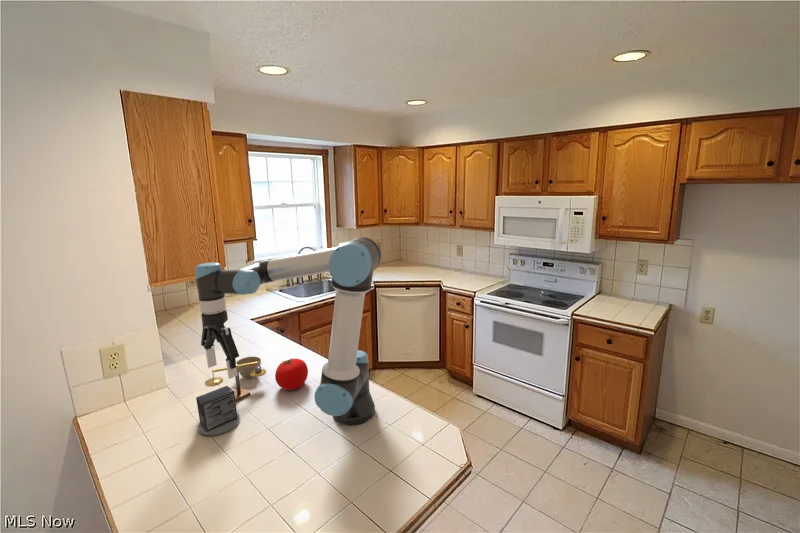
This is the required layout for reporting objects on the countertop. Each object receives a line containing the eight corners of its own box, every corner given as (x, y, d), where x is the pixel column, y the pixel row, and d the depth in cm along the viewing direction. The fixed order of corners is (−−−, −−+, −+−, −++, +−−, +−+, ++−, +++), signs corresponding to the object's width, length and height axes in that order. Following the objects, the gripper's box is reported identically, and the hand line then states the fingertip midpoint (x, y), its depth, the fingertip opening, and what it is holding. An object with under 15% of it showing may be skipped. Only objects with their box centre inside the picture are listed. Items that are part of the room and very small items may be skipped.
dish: (247, 422, 131) (246, 419, 131) (209, 442, 121) (208, 438, 121) (228, 409, 139) (227, 406, 139) (191, 427, 129) (190, 423, 129)
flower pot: (253, 383, 158) (252, 367, 156) (232, 381, 160) (230, 365, 158) (266, 372, 167) (265, 357, 166) (246, 370, 169) (244, 355, 168)
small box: (230, 411, 136) (227, 384, 134) (238, 418, 132) (235, 390, 130) (199, 424, 129) (195, 396, 126) (206, 432, 124) (202, 403, 122)
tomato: (315, 385, 155) (314, 359, 153) (285, 399, 146) (283, 371, 143) (299, 375, 164) (297, 351, 161) (269, 388, 154) (267, 362, 152)
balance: (270, 385, 156) (267, 352, 153) (213, 412, 138) (208, 375, 134) (262, 381, 159) (258, 349, 156) (205, 407, 141) (200, 370, 138)
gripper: (245, 314, 118) (253, 376, 122) (206, 301, 133) (215, 358, 137) (222, 321, 112) (231, 386, 116) (184, 307, 127) (193, 366, 132)
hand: (222, 371), depth 127 cm, fingers open, 13 cm apart
